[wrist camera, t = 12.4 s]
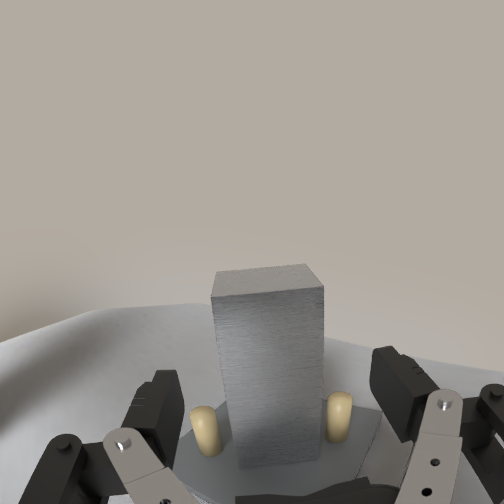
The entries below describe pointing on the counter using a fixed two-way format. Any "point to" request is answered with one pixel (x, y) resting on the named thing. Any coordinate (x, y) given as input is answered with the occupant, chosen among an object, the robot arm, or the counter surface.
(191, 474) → the grey plate with pegs
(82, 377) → the counter surface
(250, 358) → the grey upright block
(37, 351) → the counter surface
